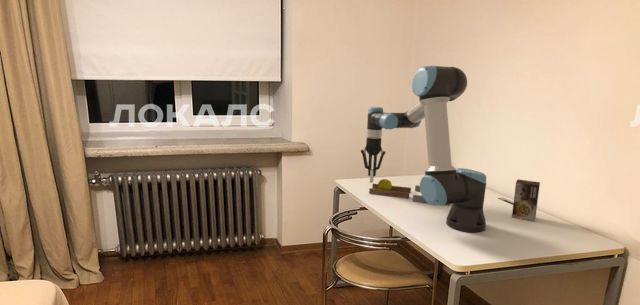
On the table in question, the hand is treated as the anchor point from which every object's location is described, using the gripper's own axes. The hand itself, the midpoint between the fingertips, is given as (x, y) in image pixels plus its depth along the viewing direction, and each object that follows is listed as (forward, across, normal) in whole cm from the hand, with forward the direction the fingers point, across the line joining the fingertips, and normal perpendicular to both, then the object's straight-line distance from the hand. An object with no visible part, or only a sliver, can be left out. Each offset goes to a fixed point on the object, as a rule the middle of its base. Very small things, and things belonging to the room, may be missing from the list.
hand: (371, 181), depth 202 cm
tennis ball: (+5, -7, 0) cm, 9 cm away
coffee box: (+5, -70, +14) cm, 71 cm away
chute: (+5, -10, 0) cm, 11 cm away
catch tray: (+5, -30, 0) cm, 30 cm away
